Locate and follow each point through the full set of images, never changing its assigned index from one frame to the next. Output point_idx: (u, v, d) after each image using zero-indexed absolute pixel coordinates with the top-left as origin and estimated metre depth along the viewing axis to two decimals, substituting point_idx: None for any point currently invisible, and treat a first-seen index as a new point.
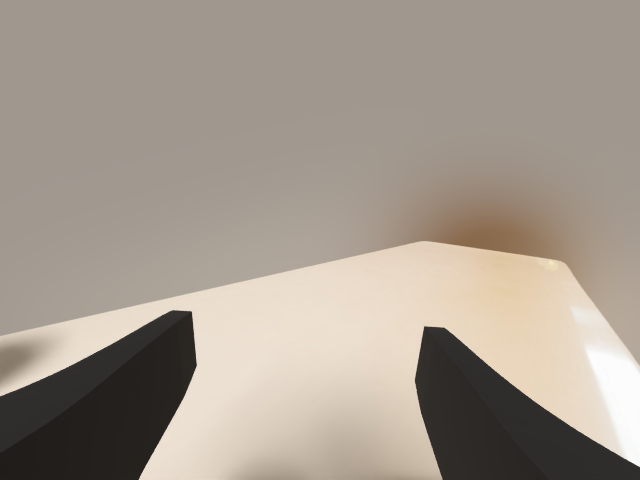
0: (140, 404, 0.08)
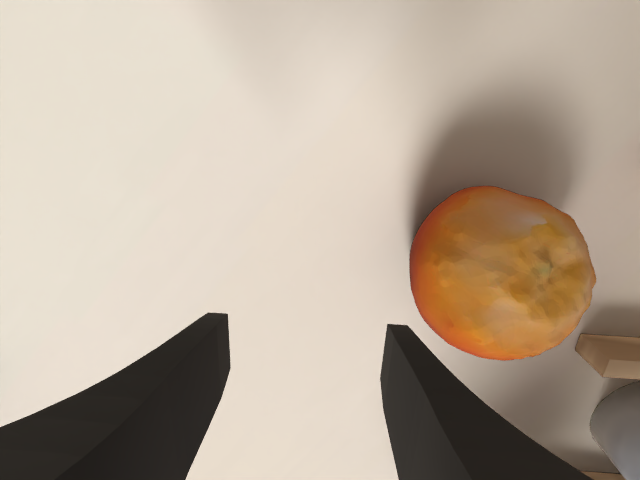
0: (186, 407, 0.08)
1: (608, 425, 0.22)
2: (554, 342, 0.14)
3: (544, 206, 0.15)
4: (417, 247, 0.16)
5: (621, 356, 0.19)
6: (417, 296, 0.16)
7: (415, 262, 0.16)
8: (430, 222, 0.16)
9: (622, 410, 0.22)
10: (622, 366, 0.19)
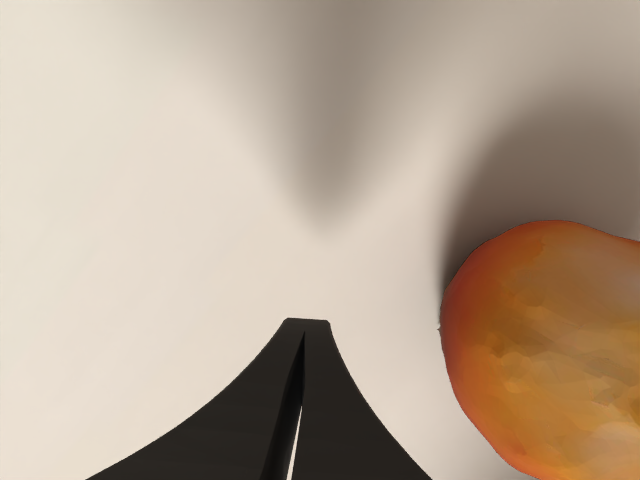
0: (289, 415, 0.08)
1: None
2: None
3: None
4: (459, 313, 0.11)
5: None
6: (459, 387, 0.11)
7: (456, 337, 0.11)
8: (479, 277, 0.11)
9: None
10: None
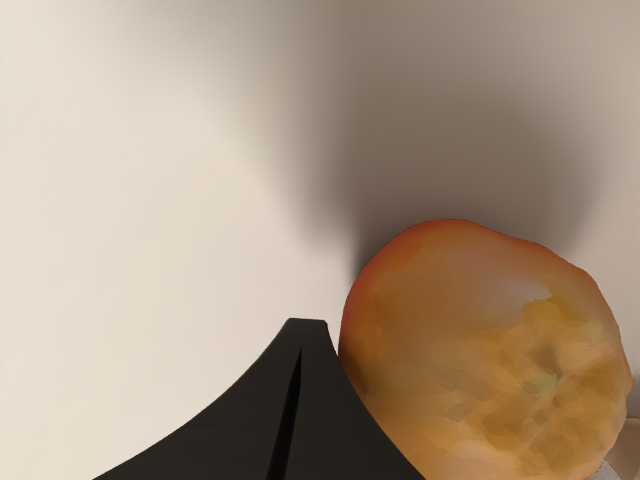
0: (292, 415, 0.08)
1: None
2: None
3: (546, 260, 0.09)
4: (343, 318, 0.10)
5: None
6: None
7: (338, 344, 0.10)
8: (362, 280, 0.10)
9: None
10: None
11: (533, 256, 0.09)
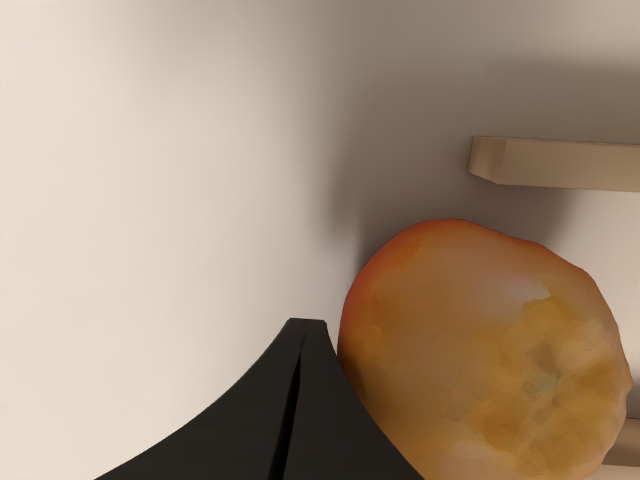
0: (293, 415, 0.08)
1: None
2: None
3: (545, 259, 0.09)
4: (342, 319, 0.10)
5: None
6: None
7: (337, 344, 0.10)
8: (360, 280, 0.10)
9: None
10: None
11: (532, 255, 0.09)
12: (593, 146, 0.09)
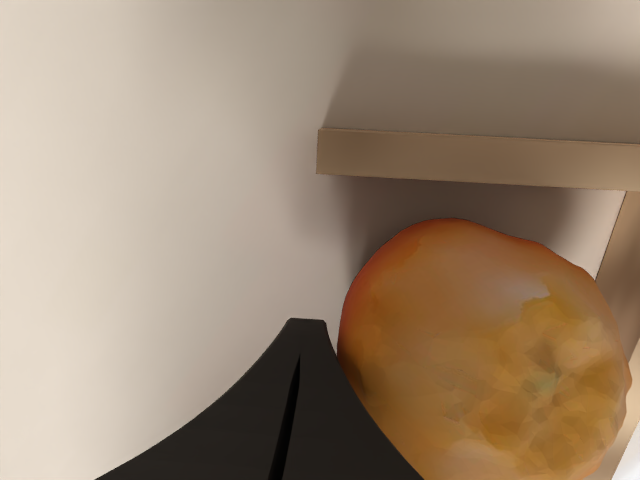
0: (293, 415, 0.08)
1: None
2: None
3: (544, 258, 0.09)
4: (342, 318, 0.10)
5: None
6: None
7: (337, 344, 0.10)
8: (360, 280, 0.10)
9: None
10: None
11: (531, 254, 0.09)
12: (401, 135, 0.09)
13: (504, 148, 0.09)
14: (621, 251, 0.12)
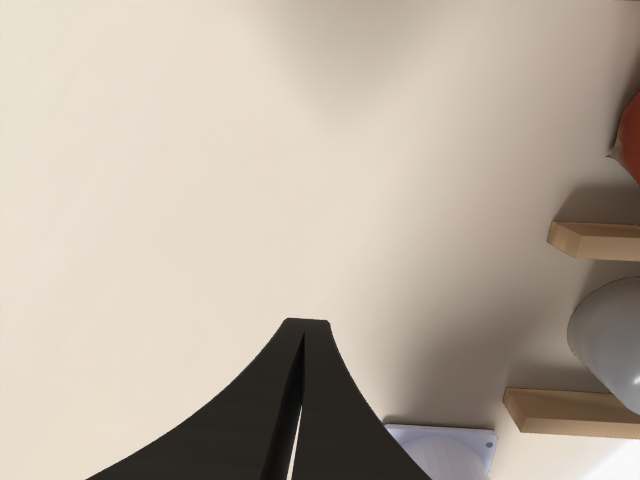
0: (289, 415, 0.08)
1: (586, 327, 0.20)
2: None
3: None
4: None
5: (595, 234, 0.17)
6: None
7: None
8: None
9: (601, 308, 0.19)
10: (596, 244, 0.17)
11: None
12: None
13: None
14: None
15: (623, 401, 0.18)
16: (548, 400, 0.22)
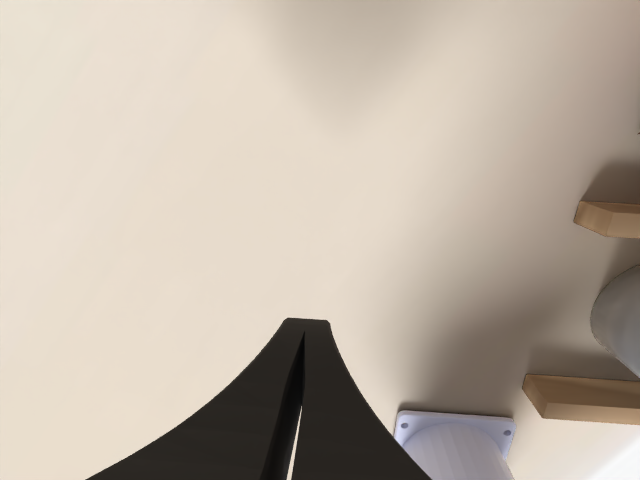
0: (289, 415, 0.08)
1: (611, 311, 0.19)
2: None
3: None
4: None
5: (627, 211, 0.17)
6: None
7: None
8: None
9: (628, 291, 0.19)
10: (628, 221, 0.16)
11: None
12: None
13: None
14: None
15: None
16: (570, 386, 0.22)
